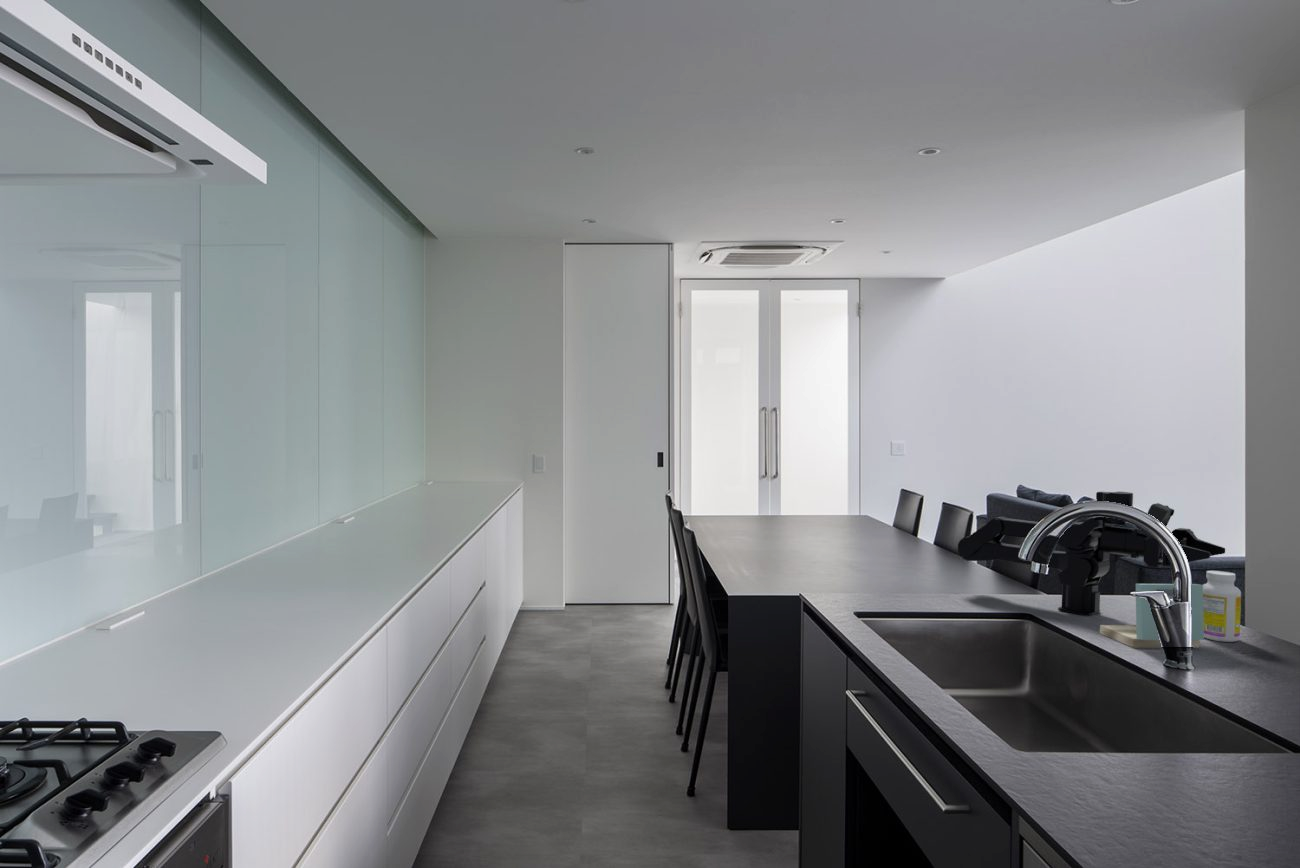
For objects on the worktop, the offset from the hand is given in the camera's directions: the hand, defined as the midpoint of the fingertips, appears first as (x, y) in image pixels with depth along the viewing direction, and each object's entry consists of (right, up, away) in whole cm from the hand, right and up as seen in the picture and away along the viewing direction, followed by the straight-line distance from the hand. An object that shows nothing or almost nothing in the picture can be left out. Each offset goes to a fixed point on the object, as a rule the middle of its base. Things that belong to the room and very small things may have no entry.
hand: (1217, 553), depth 163 cm
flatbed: (-15, -16, -3) cm, 22 cm away
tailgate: (-15, -15, -9) cm, 22 cm away
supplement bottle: (0, -17, 0) cm, 17 cm away
